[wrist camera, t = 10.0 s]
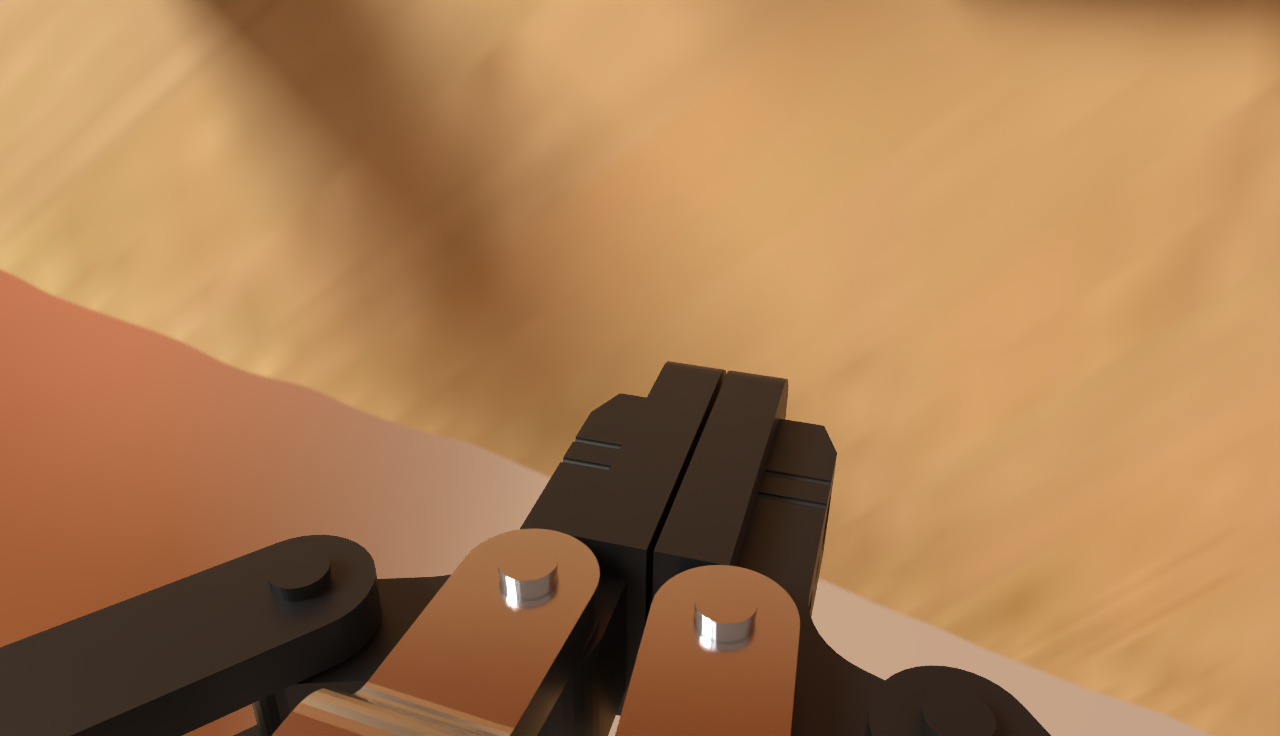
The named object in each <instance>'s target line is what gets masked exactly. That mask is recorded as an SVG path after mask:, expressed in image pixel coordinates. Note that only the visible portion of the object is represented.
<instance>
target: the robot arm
mask: <svg viewBox="0 0 1280 736" xmlns="http://www.w3.org/2000/svg"><path fill="white" fill-rule="evenodd" d="M787 397H788V379H783V378H776V377H770V376H763V375H756V374H750V373H743V372H736V371H728V373H727V375H726V371H725V370H722V369H715V368H708V367H702V366H695V365H689V364H682V363H675V362H666V363H665V365H664V367H663V368H662V370H661V372H660V374H659V376H658V378H657V380H656V382H655V384H654V385H653V387H652V389H651V391H650V393H649V395H648V397H647V398H645V397H639V396H633V395H626V394H618V395H617V396H615V397H614V398H612V399H611V400H609V401H608V402H606V403H605V404H603V405H602V406H600V407H598V408H597V409H595V410H594V411H592V412H591V413H590V415H589V416H588V418H587V420H586V421H585V423H584V425H583V426H582V428H581V430H580V431H579V433H578V434H577V436H576V441H575V442H573V443H572V444H571V446H570V448H569V449H568V451H567V453H566V454H565V456H564V459H563V463H561V462H560V464H559V466H558V467H557V469H556V471H555V472H554V474H553V476H552V477H551V479H550V480H549V482H548V484H547V485H546V487H545V489H544V490H543V492H542V494H541V495H540V497H539V499H538V500H537V502H536V504H535V505H534V507H533V508H532V510H531V512H530V513H529V515H528V517H527V518H526V520H525V522H524V523H523V525H522V526H521V528H520V530H514V531H509V532H506V533H502V534H499V535H497V536H494V537H492V538H490V539H488V540H486V541H484V542H482V543H480V544H479V545H478V546H476V547H475V548H474V549H473V550H471V552H470V553H469V554H468V555H467V556H466V557H465V558H464V559H463V561H462V562H461V563H460V564H459V566H458V567H457V568H456V570H455V571H454V572H453V574H451V575H446V576H437V577H420V578H397V579H377V576H376V569H375V565H374V561H373V559H372V557H371V555H370V554H369V553H368V552H367V550H366V549H365V548H363V547H362V546H360V545H359V544H357V543H356V542H353V541H351V540H348V539H346V538H342V537H338V536H330V535H310V536H301V537H297V538H292V539H288V540H285V541H282V542H279V543H276V544H273V545H271V546H268V547H265V548H263V549H260V550H257V551H255V552H252V553H250V554H247V555H244V556H242V557H239V558H237V559H234V560H231V561H228V562H226V563H223V564H221V565H218V566H215V567H213V568H210V569H207V570H204V571H202V572H199V573H197V574H194V575H191V576H189V577H186V578H183V579H181V580H178V581H175V582H173V583H170V584H168V585H165V586H162V587H160V588H157V589H154V590H152V591H149V592H147V593H144V594H141V595H138V596H136V597H133V598H130V599H128V600H125V601H122V602H120V603H117V604H114V605H112V606H109V607H107V608H104V609H101V610H99V611H96V612H93V613H91V614H88V615H85V616H83V617H80V618H77V619H75V620H72V621H69V622H67V623H64V624H62V625H59V626H56V627H54V628H51V629H48V630H46V631H43V632H40V633H38V634H36V635H32V636H30V637H27V638H24V639H22V640H19V641H17V642H14V643H11V644H9V645H6V646H3V647H1V648H0V736H182V735H184V734H186V733H188V732H190V731H193V730H195V729H197V728H199V727H202V726H204V725H206V724H208V723H210V722H213V721H215V720H217V719H219V718H221V717H224V716H226V715H228V714H230V713H232V712H235V711H237V710H239V709H241V708H243V707H245V706H248V705H249V704H252V706H253V709H254V714H255V717H256V721H257V725H255V726H253V727H251V728H249V729H247V730H245V731H242V732H240V733H238V734H236V735H234V736H608V734H609V731H610V729H611V726H612V723H613V721H614V718H615V715H620V720H619V724H618V727H617V732H616V735H615V736H1051V735H1050V734H1049V733H1048V732H1047V731H1046V730H1045V729H1044V728H1043V727H1042V726H1041V724H1040V723H1039V722H1038V721H1037V720H1036V719H1035V718H1034V717H1033V716H1032V715H1031V714H1030V713H1029V712H1028V710H1027V709H1026V708H1025V707H1024V706H1023V705H1022V704H1021V703H1020V702H1019V701H1018V700H1017V699H1015V698H1014V697H1013V696H1012V695H1011V694H1010V693H1008V692H1007V691H1006V690H1004V689H1003V688H1001V687H1000V686H998V685H997V684H995V683H993V682H991V681H989V680H988V679H986V678H983V677H981V676H979V675H976V674H974V673H971V672H967V671H965V670H961V669H957V668H951V667H946V666H921V667H914V668H910V669H906V670H903V671H901V672H899V673H896V674H894V675H893V676H891V677H890V678H888V679H887V680H883V679H881V678H879V677H877V676H875V675H872V674H871V673H868V672H866V671H864V670H862V669H860V668H859V667H857V666H855V665H853V664H852V663H850V662H848V661H847V660H845V659H844V658H843V657H841V656H840V655H839V654H837V653H836V652H835V651H834V650H833V649H832V648H831V647H830V646H829V645H828V644H826V642H825V641H824V640H823V638H822V637H821V636H820V635H819V633H818V631H817V629H816V628H815V626H814V624H813V622H812V619H811V616H812V609H813V604H814V599H815V593H816V589H817V582H818V578H819V573H820V567H821V562H822V556H823V551H824V543H825V536H826V529H827V522H828V514H829V507H830V500H831V492H832V485H833V478H834V471H835V463H836V456H837V452H836V450H835V448H834V446H833V444H832V442H831V440H830V438H829V435H828V433H827V431H826V429H825V427H824V426H821V425H815V424H809V423H803V422H796V421H790V420H785V416H786V407H787Z"/></svg>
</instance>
